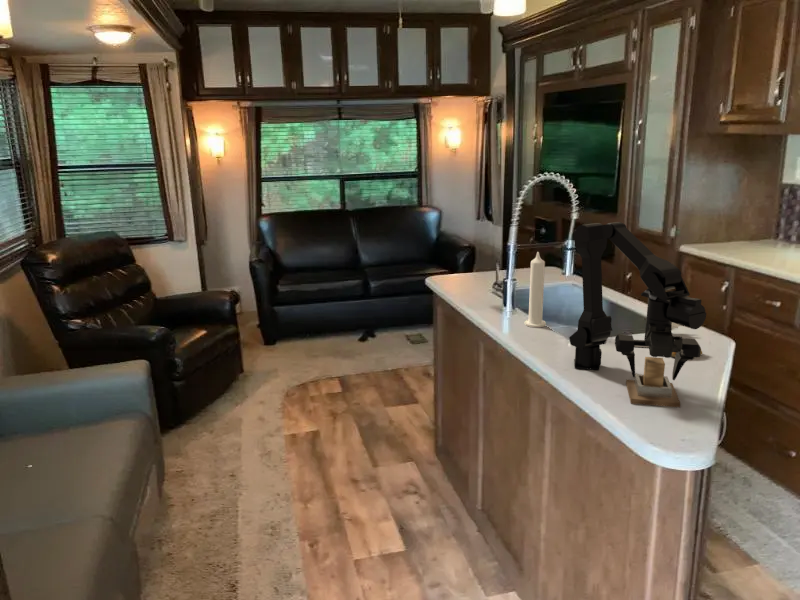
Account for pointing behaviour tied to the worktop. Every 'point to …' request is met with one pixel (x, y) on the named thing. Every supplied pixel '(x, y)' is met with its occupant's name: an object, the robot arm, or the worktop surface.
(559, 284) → the worktop surface
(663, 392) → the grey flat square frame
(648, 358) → the rail post
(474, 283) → the worktop surface
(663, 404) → the plate
